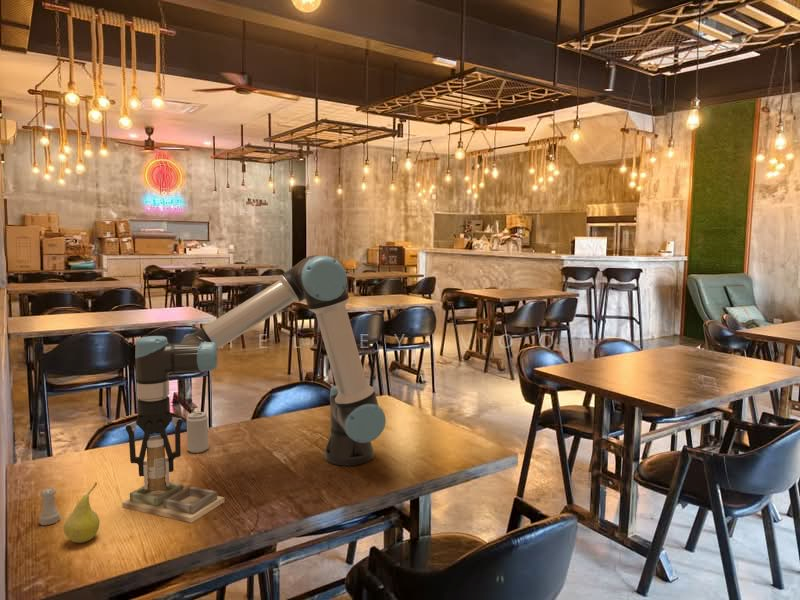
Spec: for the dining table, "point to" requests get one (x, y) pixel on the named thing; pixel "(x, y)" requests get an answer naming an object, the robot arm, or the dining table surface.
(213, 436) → the dining table surface
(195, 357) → the robot arm
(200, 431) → the beverage can
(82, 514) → the fruit
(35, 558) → the dining table surface
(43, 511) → the rook chess piece
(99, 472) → the dining table surface
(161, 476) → the sprinkles bottle
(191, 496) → the board
